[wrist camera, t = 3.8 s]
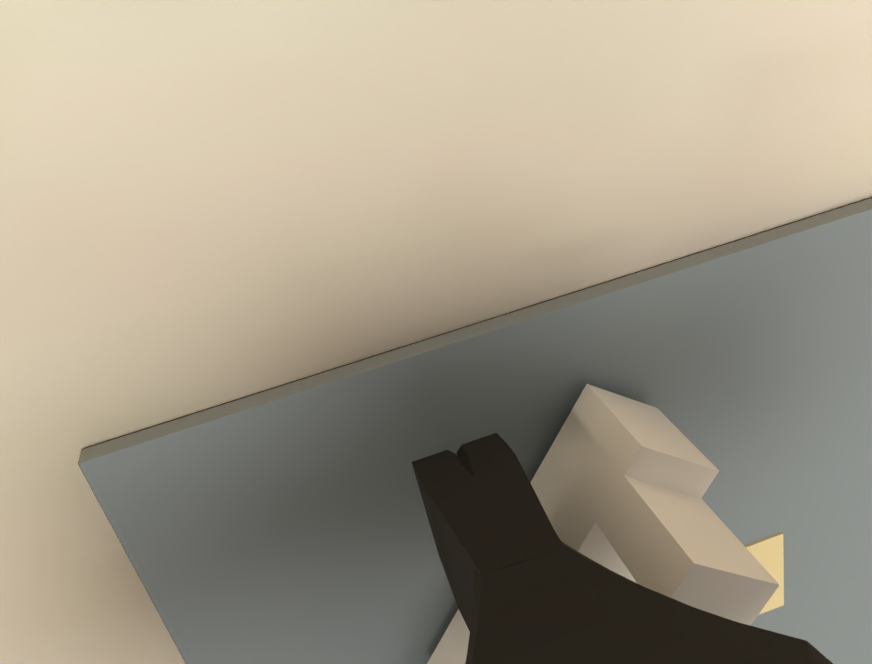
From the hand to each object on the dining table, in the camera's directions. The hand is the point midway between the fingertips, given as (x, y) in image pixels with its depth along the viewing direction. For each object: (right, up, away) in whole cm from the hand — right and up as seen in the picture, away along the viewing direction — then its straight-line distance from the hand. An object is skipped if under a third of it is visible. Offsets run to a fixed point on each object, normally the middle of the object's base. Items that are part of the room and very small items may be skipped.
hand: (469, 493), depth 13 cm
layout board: (+3, -4, +4) cm, 6 cm away
